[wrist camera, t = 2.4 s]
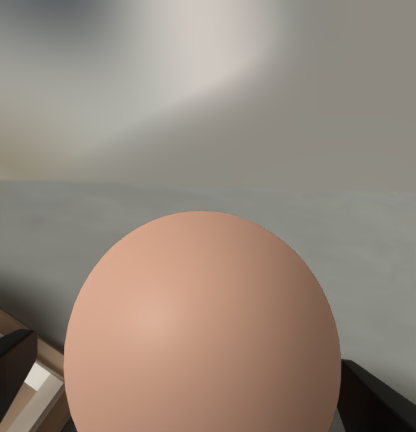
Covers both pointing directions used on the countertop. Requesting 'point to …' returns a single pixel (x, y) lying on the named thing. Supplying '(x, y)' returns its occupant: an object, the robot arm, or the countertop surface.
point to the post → (202, 334)
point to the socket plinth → (38, 389)
